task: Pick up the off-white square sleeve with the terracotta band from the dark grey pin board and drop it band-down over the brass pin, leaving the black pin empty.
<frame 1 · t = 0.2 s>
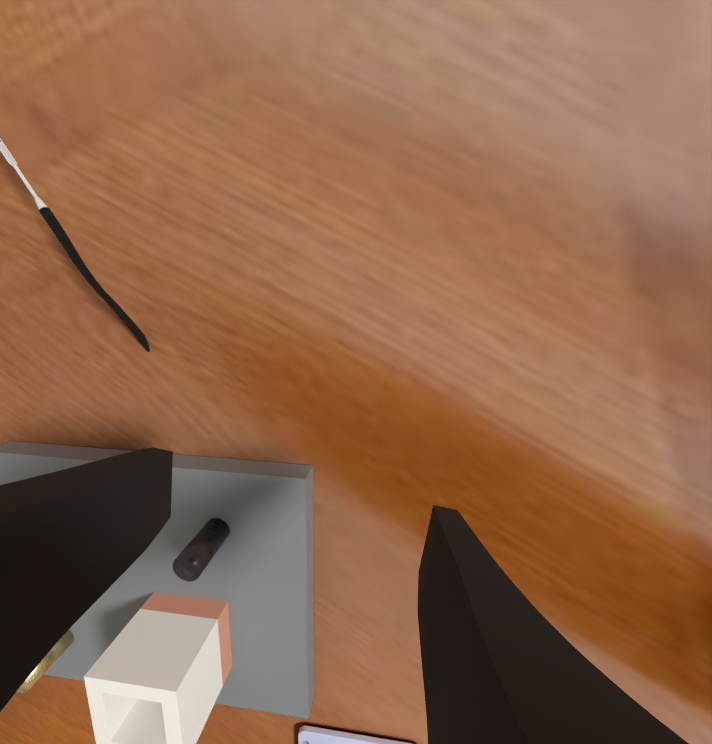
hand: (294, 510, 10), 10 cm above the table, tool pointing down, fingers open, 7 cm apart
sleeve: (193, 629, 23), point 1 cm above the table, touching pin board
brass pin: (64, 635, 24), resting on pin board
black pin: (217, 529, 21), resting on pin board
pin board: (166, 570, 24), on the table
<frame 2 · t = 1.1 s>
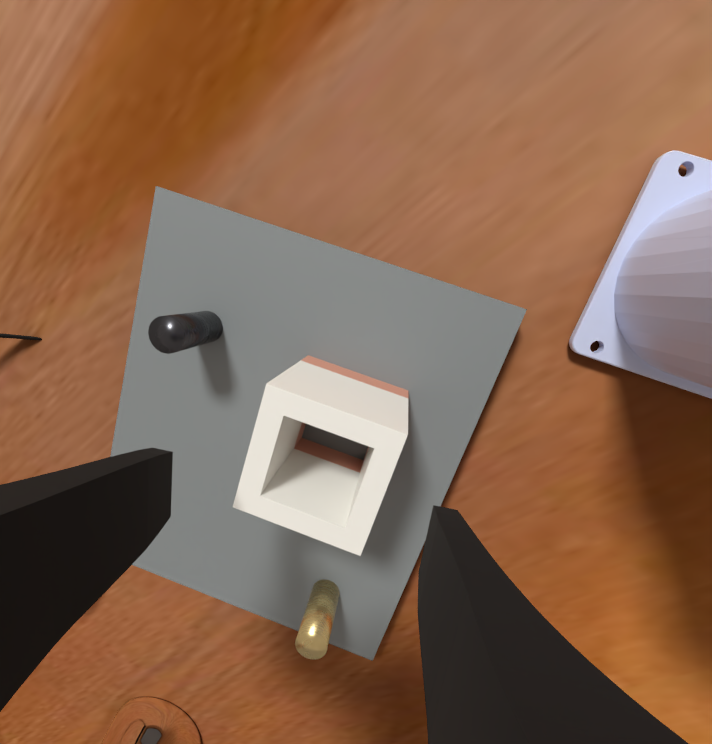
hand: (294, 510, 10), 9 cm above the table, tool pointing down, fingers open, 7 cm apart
sleeve: (342, 419, 17), point 1 cm above the table, touching pin board
beer glass: (161, 728, 25), on the table
brass pin: (325, 591, 19), resting on pin board
black pin: (207, 326, 17), resting on pin board
pin board: (286, 436, 19), on the table
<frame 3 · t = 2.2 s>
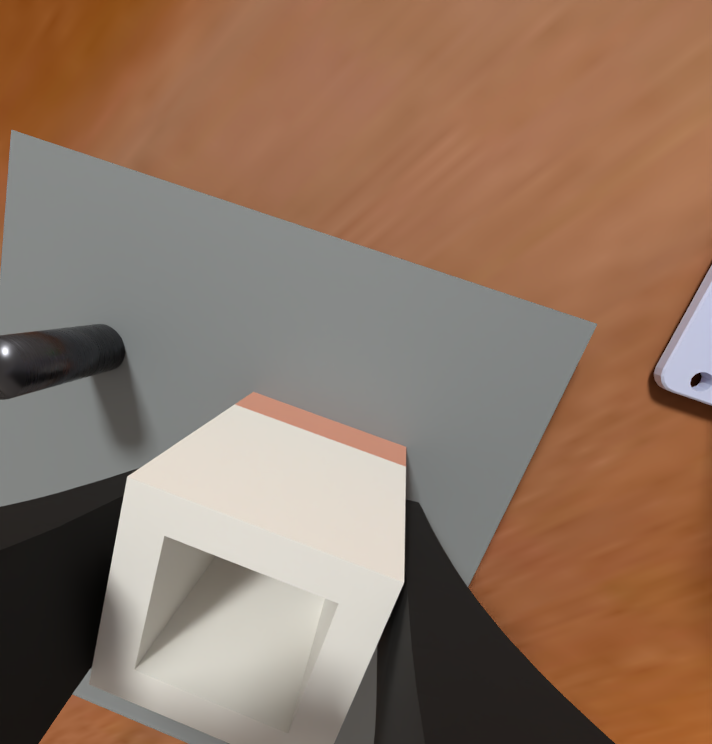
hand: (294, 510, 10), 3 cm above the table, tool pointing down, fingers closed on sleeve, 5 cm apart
sleeve: (306, 487, 11), point 2 cm above the table, touching gripper, pin board
black pin: (103, 347, 11), resting on pin board
pin board: (232, 500, 13), on the table
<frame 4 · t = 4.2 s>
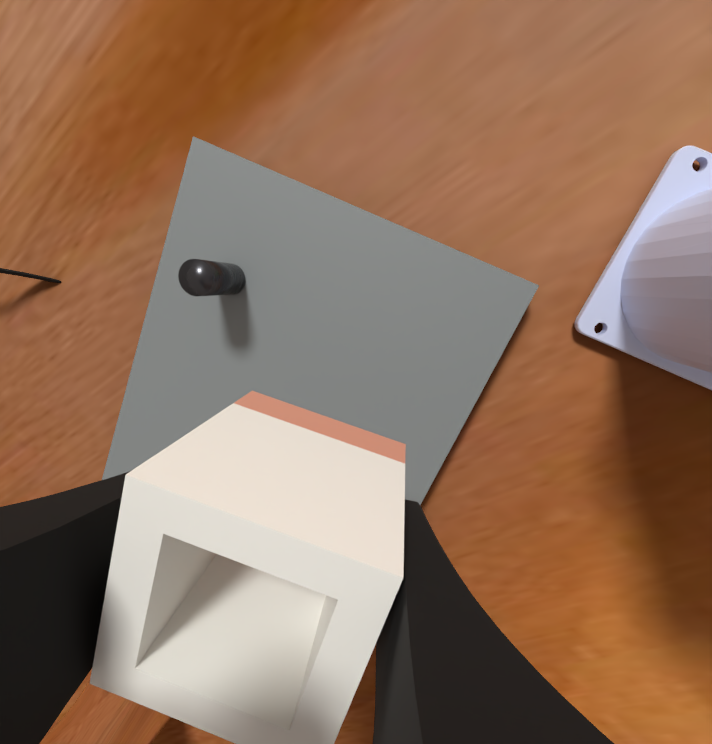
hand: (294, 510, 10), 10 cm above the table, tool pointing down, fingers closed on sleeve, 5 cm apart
sleeve: (306, 486, 11), point 9 cm above the table, touching gripper
beer glass: (145, 675, 26), on the table
black pin: (231, 279, 17), resting on pin board
pin board: (295, 395, 20), on the table
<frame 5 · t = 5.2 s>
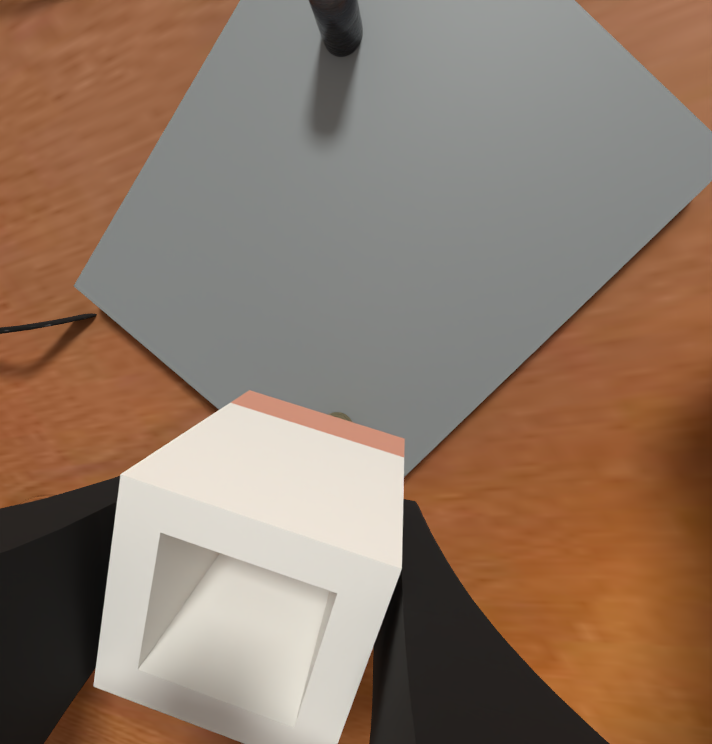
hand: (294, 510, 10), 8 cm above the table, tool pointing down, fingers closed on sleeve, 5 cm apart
sleeve: (306, 484, 11), point 6 cm above the table, touching gripper
black pin: (342, 32, 13), resting on pin board
pin board: (361, 235, 16), on the table
when the fingers open (5 cm above the table, at t = 6.2 s): sleeve drops 2 cm, resting on pin board.
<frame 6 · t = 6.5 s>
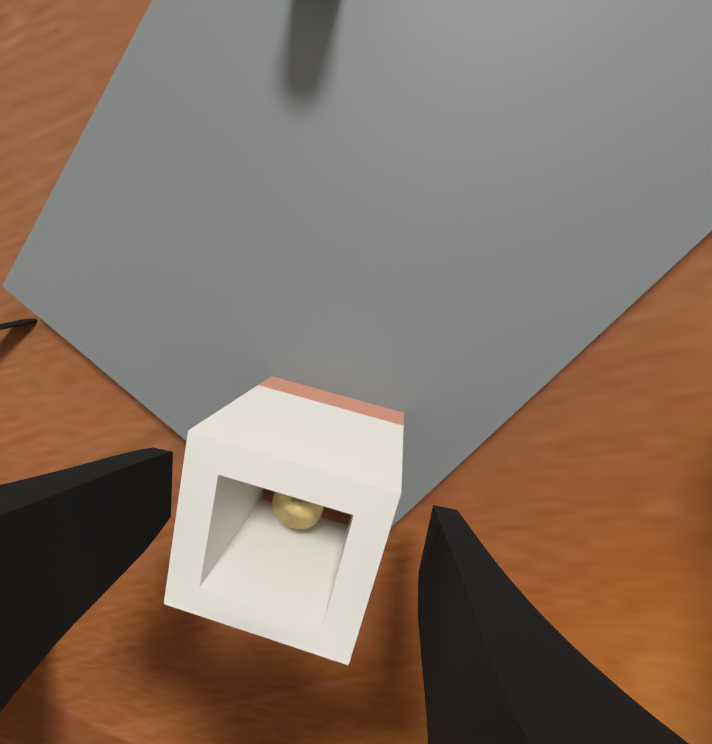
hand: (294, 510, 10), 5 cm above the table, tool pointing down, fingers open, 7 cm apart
sleeve: (322, 455, 13), point 1 cm above the table, touching pin board
brass pin: (321, 458, 13), resting on pin board
pin board: (350, 225, 13), on the table
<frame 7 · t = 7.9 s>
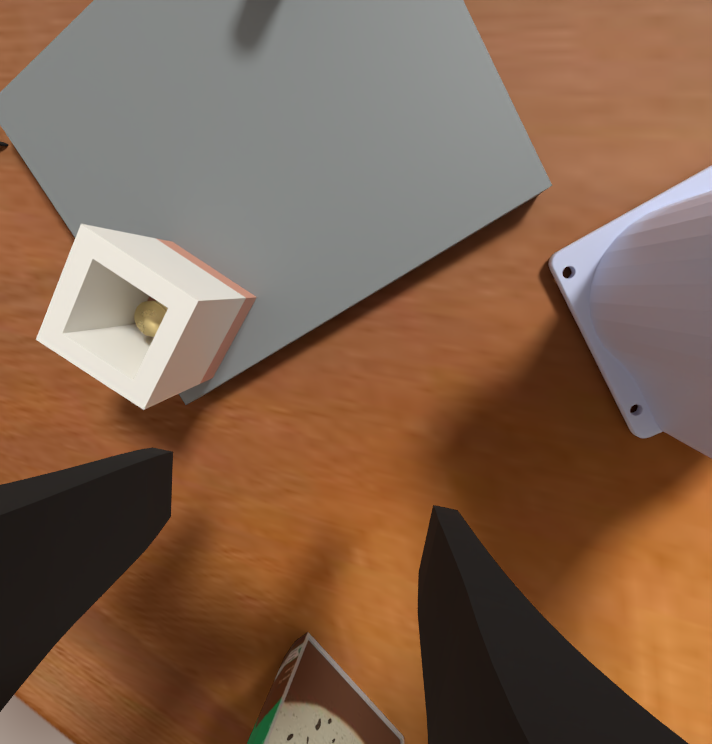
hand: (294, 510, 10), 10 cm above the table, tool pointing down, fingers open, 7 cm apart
sleeve: (193, 312, 18), point 1 cm above the table, touching pin board
brass pin: (192, 313, 18), resting on pin board
pin board: (262, 154, 17), on the table
food container: (320, 701, 24), on the table
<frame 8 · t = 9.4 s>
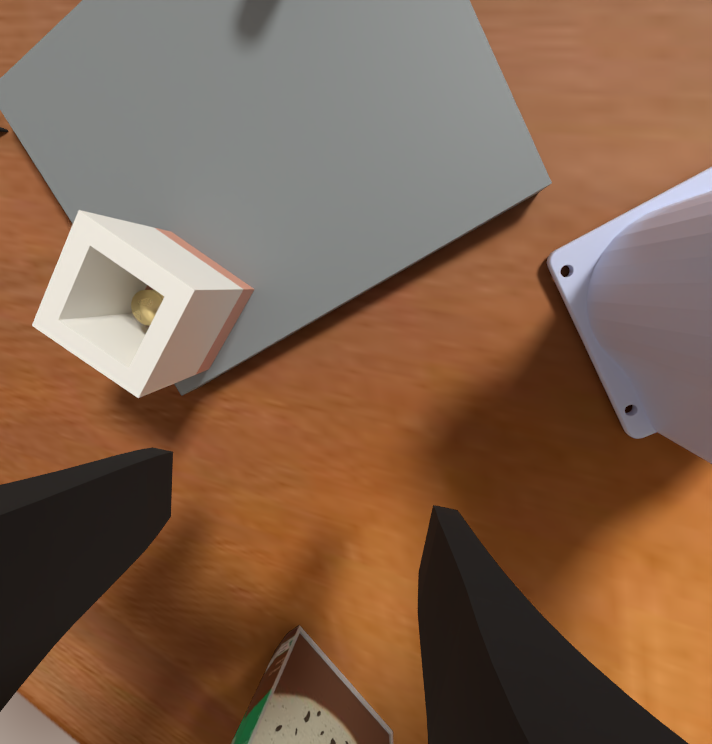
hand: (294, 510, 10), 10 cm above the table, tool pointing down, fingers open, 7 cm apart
sleeve: (190, 302, 18), point 1 cm above the table, touching pin board
brass pin: (189, 304, 18), resting on pin board
pin board: (263, 146, 17), on the table
food container: (310, 694, 24), on the table
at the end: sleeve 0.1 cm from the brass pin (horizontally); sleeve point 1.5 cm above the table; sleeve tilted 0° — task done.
